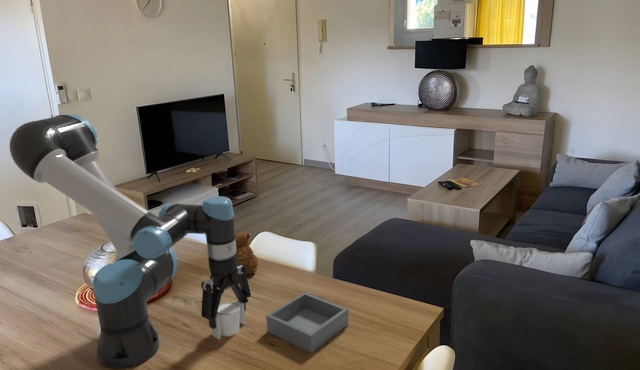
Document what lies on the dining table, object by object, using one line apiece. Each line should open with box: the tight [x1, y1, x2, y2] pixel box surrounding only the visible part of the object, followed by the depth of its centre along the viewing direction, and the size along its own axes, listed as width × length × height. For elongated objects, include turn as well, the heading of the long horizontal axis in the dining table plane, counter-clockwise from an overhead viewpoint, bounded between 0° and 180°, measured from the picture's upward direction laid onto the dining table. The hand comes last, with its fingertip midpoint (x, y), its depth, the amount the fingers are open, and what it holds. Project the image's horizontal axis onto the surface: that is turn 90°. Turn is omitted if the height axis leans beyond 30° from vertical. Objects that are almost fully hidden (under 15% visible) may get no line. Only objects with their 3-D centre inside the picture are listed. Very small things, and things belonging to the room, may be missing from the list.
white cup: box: [217, 301, 240, 337], centre depth 135 cm, size 7×7×7 cm
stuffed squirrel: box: [235, 232, 259, 276], centre depth 170 cm, size 10×14×13 cm
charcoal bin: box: [265, 291, 349, 354], centre depth 135 cm, size 16×16×5 cm
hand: (229, 329), depth 136 cm, fingers open, 8 cm apart
